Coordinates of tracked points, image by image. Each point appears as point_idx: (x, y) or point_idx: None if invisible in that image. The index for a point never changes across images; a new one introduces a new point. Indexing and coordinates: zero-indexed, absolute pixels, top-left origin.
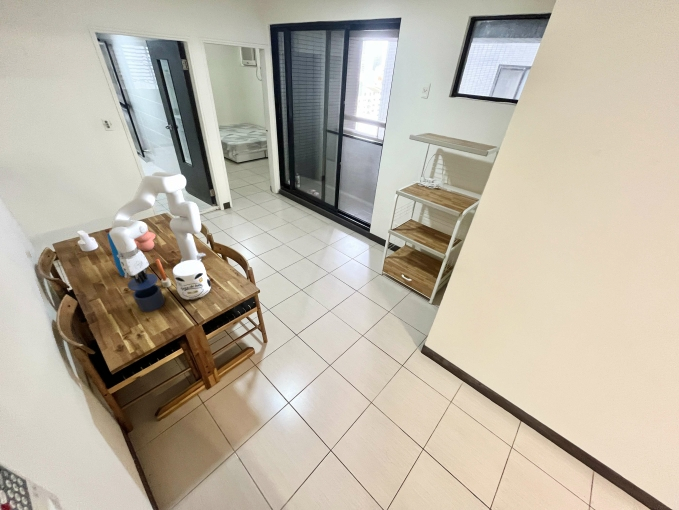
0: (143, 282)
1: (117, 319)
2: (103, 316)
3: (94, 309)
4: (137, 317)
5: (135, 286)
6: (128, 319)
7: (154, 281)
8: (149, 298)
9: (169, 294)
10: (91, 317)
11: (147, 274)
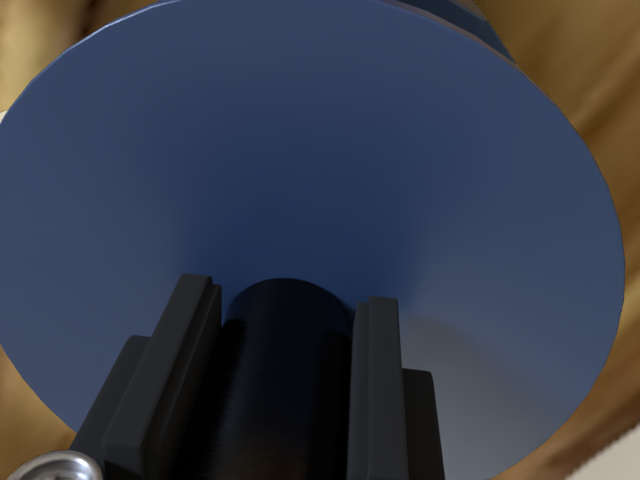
0: (319, 290)
1: (635, 257)
2: (598, 381)
3: (521, 475)
4: (596, 85)
5: (491, 352)
6: (633, 157)
7: (173, 50)
8: (474, 9)
9: (134, 3)
10: (614, 443)
11: (62, 386)
